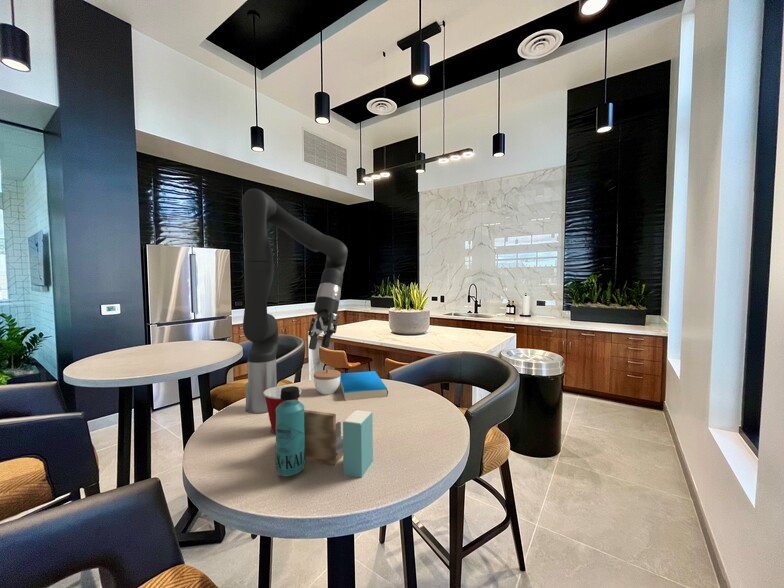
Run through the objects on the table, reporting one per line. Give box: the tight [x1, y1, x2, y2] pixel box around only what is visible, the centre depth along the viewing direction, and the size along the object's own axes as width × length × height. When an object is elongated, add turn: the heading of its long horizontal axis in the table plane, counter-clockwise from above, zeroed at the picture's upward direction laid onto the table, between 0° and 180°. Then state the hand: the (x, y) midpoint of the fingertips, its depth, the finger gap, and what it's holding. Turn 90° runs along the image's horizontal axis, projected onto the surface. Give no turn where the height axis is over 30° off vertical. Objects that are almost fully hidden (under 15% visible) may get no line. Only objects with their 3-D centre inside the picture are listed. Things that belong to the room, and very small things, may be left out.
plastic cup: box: [263, 385, 302, 435], centre depth 95 cm, size 11×11×12 cm
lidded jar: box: [313, 368, 342, 396], centre depth 128 cm, size 11×11×9 cm
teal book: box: [342, 409, 374, 479], centre depth 75 cm, size 4×7×12 cm, turn 163°
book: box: [340, 370, 389, 402], centre depth 132 cm, size 17×4×25 cm
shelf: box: [304, 409, 343, 466], centre depth 84 cm, size 16×12×12 cm
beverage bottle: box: [274, 385, 306, 477], centre depth 72 cm, size 6×7×20 cm
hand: (318, 348), depth 99 cm, fingers open, 8 cm apart
